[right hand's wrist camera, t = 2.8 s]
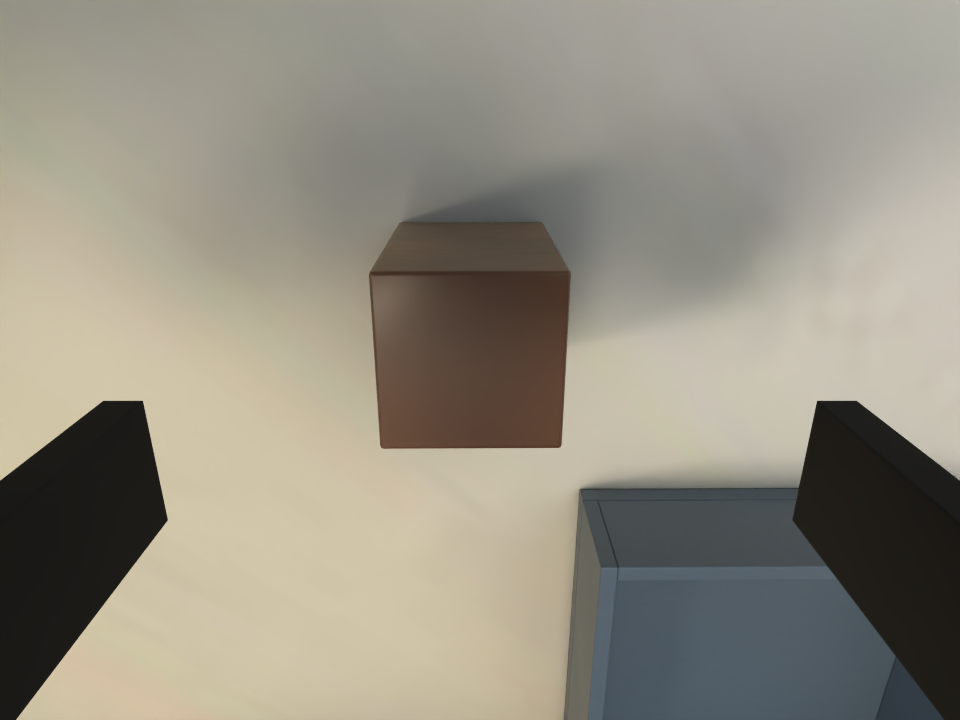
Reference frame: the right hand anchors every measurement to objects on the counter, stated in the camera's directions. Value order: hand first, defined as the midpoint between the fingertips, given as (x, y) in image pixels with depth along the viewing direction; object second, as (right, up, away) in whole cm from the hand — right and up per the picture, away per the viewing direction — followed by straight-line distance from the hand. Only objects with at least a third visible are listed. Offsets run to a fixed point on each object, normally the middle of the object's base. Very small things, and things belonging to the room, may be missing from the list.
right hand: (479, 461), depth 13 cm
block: (0, +5, +10) cm, 11 cm away
